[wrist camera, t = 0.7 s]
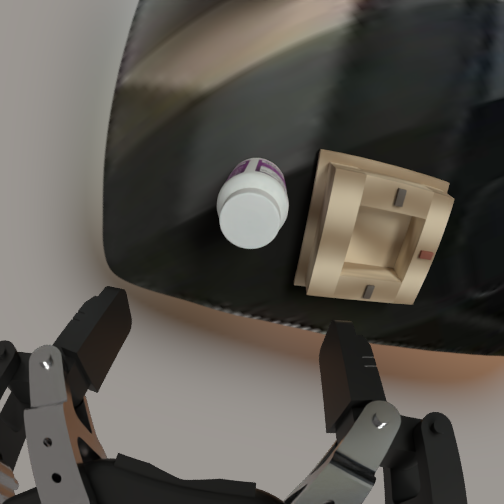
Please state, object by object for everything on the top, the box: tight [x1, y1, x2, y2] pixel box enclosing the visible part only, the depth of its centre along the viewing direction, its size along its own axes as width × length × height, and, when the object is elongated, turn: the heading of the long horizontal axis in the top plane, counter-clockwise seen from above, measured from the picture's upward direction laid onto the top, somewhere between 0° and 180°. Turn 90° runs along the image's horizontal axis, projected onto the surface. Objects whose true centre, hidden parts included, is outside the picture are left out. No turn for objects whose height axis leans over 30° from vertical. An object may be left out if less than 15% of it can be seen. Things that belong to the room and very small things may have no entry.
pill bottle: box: [217, 158, 289, 249], centre depth 22 cm, size 5×5×10 cm
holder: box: [294, 149, 454, 304], centre depth 26 cm, size 15×15×4 cm
